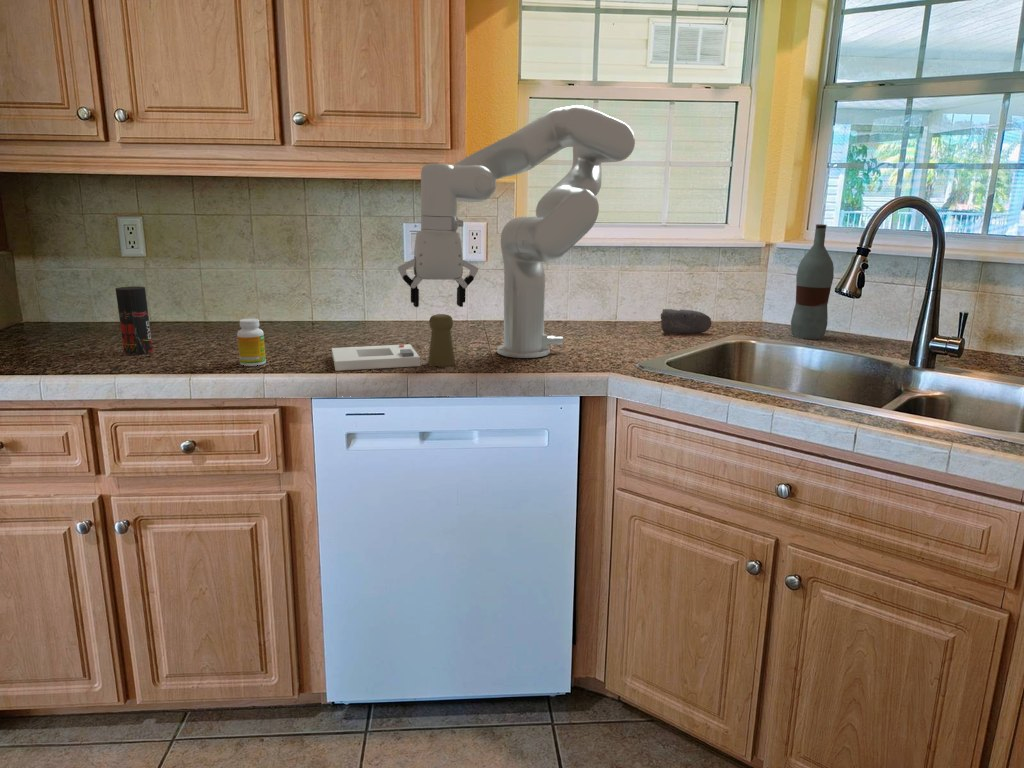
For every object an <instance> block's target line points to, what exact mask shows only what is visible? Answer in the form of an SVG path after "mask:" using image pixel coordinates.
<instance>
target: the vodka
mask: <svg viewBox="0 0 1024 768" xmlns="http://www.w3.org/2000/svg"><path fill="white" fill-rule="evenodd" d="M827 226H828V225H827V224H819V223H818V224H815V230H814V240H813V244H812V246H811V247H810V249H809V250H808V251H807V253H806V254H805V255H804V256H803V258H802V259H801V260H800V262H799V264H798V267H797V272H796V275H795V276H796V279H795V280H796V281H795V283H796V287H795V288H796V289H795V305H794V307H793V308H794V309H793V312H792V315H791V320H790V333H791V336H792V335H793V336H795V337H799V338H798V339H800V338H805V339H804V340H809V339H819V340H823V339H824V337H825V334H826V331H827V327H828V321H829V320H828V318H829V317H828V304H829V300H830V295H831V289H832V284H833V281H834V276H835V275H834V274H835V273H834V272H835V271H834V270H835V268H834V262H833V260H832V258H831V256H830V254H829V252H828V250H827V248H826V246H825V242H826V241H825V240H826V230H827ZM793 336H792V337H793ZM795 337H794V338H795ZM822 338H823V339H822Z"/></svg>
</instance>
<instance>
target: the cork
mask: <svg viewBox="0 0 1024 768" xmlns="http://www.w3.org/2000/svg"><path fill="white" fill-rule="evenodd" d="M428 323H429V328H430V329H431V333H430V334H431V335H430V345H429V354H428V363H427V364H429V366H430V365H431V367H435V366H438V368H445V367H444V366H448V367H452V366H451V365H453V366H454V364H455V365H456V359H455V353H454V347H453V346H454V344H453V339H452V338H453V337H452V332H451V330H452V329H453V326H454V321H453V317H452V316H451V315H449V314H444V313H437V314H433V315H431V316H430V318H429V322H428ZM440 366H441V367H440Z"/></svg>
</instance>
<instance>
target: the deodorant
mask: <svg viewBox="0 0 1024 768" xmlns="http://www.w3.org/2000/svg"><path fill="white" fill-rule="evenodd" d="M146 292H147V291H146V287H144V286H121V287H116V288H115V296H116V303H117V312H118V317H119V318H118V319H119V325H120V331H121V340H122V346H123V353H124V355H125V354H126V355H125V356H142V354H144V355H148V353H149V354H152V353H153V352H154V349H153V343H152V342H153V341H152V340H153V339H152V331H151V326H150V325H151V324H150V318H149V308H148V301H147V294H146Z"/></svg>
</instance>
